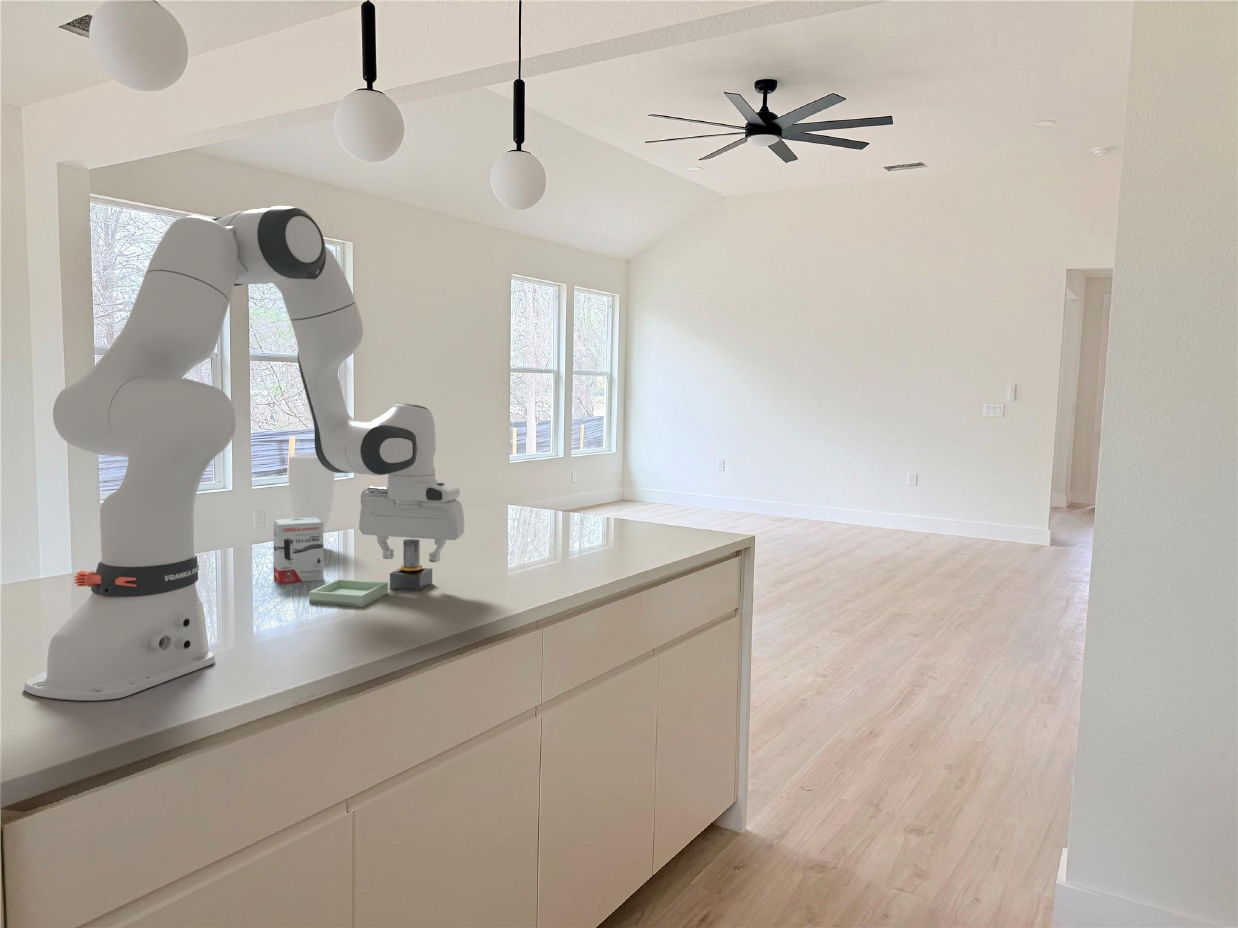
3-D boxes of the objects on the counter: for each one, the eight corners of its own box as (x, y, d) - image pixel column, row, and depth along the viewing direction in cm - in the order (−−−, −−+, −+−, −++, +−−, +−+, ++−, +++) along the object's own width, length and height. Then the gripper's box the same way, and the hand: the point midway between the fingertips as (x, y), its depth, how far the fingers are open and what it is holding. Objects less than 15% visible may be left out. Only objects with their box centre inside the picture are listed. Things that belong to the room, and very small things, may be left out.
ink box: (278, 584, 157) (277, 523, 156) (273, 579, 161) (272, 519, 160) (324, 579, 161) (324, 520, 160) (318, 574, 165) (317, 516, 164)
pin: (416, 589, 156) (417, 542, 155) (397, 587, 157) (397, 541, 156) (425, 584, 160) (425, 538, 159) (406, 583, 161) (406, 537, 160)
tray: (362, 606, 143) (362, 595, 143) (309, 602, 145) (309, 591, 144) (387, 592, 153) (387, 582, 152) (337, 589, 154) (337, 578, 154)
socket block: (419, 590, 155) (419, 575, 154) (389, 588, 156) (389, 573, 155) (432, 583, 161) (432, 568, 160) (403, 581, 162) (403, 566, 161)
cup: (317, 553, 185) (316, 458, 183) (278, 549, 188) (277, 456, 186) (345, 545, 195) (344, 455, 193) (307, 541, 198) (306, 452, 196)
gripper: (352, 488, 155) (353, 559, 156) (455, 493, 152) (455, 566, 153) (368, 484, 161) (368, 553, 163) (467, 489, 158) (466, 559, 159)
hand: (411, 560), depth 158 cm, fingers open, 8 cm apart
